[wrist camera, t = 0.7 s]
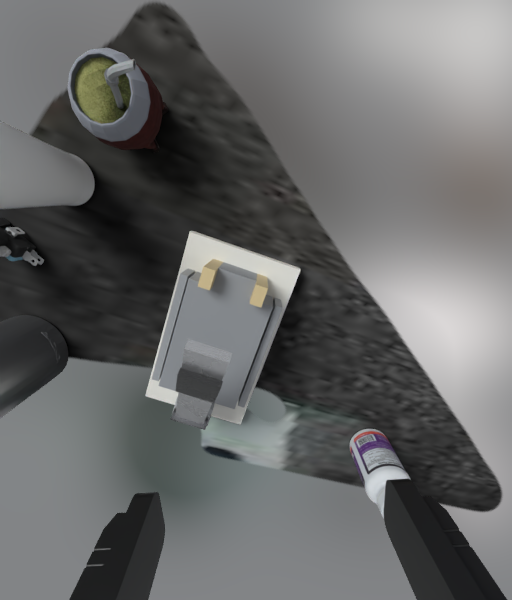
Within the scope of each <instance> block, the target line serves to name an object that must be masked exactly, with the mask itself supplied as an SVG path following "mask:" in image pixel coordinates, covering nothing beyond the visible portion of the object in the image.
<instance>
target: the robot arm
mask: <svg viewBox="0 0 512 600" xmlns="http://www.w3.org/2000/svg"><path fill="white" fill-rule="evenodd" d="M67 361H68V348H67V344H66V342H65V339H64V338H63V336H62V335H61V333H60V332H59V331H58V330H57V329H56V328H55V327H54V326H53V325H52V324H50V323H49V322H47V321H45V320H44V319H42V318H39V317H36V316H31V315H18V316H15V317H12V318H9V319H7V320H4V321H2V322H0V418H2V417H3V416H4V415H6V414H7V413H8V412H10V411H11V410H12V409H13V408H15V407H16V406H17V405H19V404H20V403H21V402H23V401H24V400H25V399H27V398H28V397H29V396H31V395H32V394H33V393H35V392H36V391H37V390H39V389H40V388H41V387H42V386H44V385H45V384H47V383H48V382H49V381H51V380H52V379H53V378H55V377H56V376H57V375H58V374H60V372H62V371H63V369H64V368H65V366H66V364H67ZM384 520H385V525H386V529H387V532H388V535H389V537H390V539H391V542H392V544H393V546H394V548H395V551H396V553H397V555H398V557H399V560H400V562H401V564H402V567H403V569H404V571H405V573H406V576H407V578H408V580H409V583H410V585H411V587H412V590H413V592H414V594H415V596H416V599H417V600H507V599H506V597H505V596H504V594H503V593H502V592H501V590H500V588H499V587H498V585H497V584H496V583H495V581H494V580H493V578H492V577H491V575H490V574H489V572H488V571H487V569H486V568H485V566H484V565H483V563H482V562H481V560H480V559H479V557H478V556H477V555H476V553H475V552H474V550H473V549H472V548H471V547H470V546H469V543H468V542H467V540H466V538H465V537H464V535H463V534H462V532H460V531H459V528H458V526H457V525H456V524H455V522H454V521H453V519H452V518H451V516H450V515H449V513H448V512H447V510H446V509H444V508H443V507H442V506H441V505H440V504H439V503H438V502H437V501H435V500H434V499H433V498H432V497H431V496H421V494H420V493H419V491H418V489H417V488H416V486H415V485H414V483H413V482H412V481H411V480H410V479H393V480H387V481H386V486H385V500H384ZM164 535H165V524H164V518H163V513H162V508H161V502H160V496H159V493H157V492H154V493H137V494H135V495H134V497H133V499H132V501H131V503H130V505H129V508H128V510H127V512H126V513H117V514H116V515H115V517H114V518H113V519H112V520H111V521H110V522H109V524H108V525H107V526H106V527H105V528H104V530H103V532H102V534H101V536H100V538H99V540H98V542H97V544H96V546H95V549H94V552H92V554H91V556H90V558H89V560H88V562H87V567H86V568H85V569H84V571H83V573H82V575H81V577H80V579H79V581H78V583H77V585H76V587H75V589H74V591H73V593H72V595H71V597H70V600H148V598H149V594H150V590H151V587H152V583H153V580H154V576H155V573H156V569H157V565H158V562H159V558H160V554H161V551H162V547H163V543H164Z"/></svg>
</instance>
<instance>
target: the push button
mask: <svg viewBox="0 0 512 600" xmlns="http://www.w3.org/2000/svg"><path fill="white" fill-rule="evenodd" d="M9 225H10V222H9V221H8V220H6V219H5V218H0V256H3V257H6V258H7V259H8V260H10V261H17V260H23V259H24V260H25V261H28V262H30V263H31V264H32V265H34V266H36V265H37V263H38V264H40V265H42V263H43V262H44V259H42V258H41V257H40V256H39V255H37V252H35V251H34V250H35V248H36V246H34V245H33V244H32V243H31V242H29V241H28V240H27V239H26V238H24V237H23V236H22V235H21V234H25V232H24V231H22V230H21V229H20V228H18V227H10V226H9ZM16 229H17V230H19V231H20V232H18V231H17V230H16ZM38 258H39V259H40V262H39V261H38ZM32 260H34V261H35V262H34V263H33V262H32Z"/></svg>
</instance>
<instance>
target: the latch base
mask: <svg viewBox="0 0 512 600" xmlns="http://www.w3.org/2000/svg"><path fill="white" fill-rule="evenodd" d="M300 271H301V270H300V268H298V267H295V266H293V265H290V264H287V263H284V262H281V261H278V260H275V259H272V258H270V257H267V256H264V255H261V254H258V253H255V252H252V251H249V250H246V249H244V248H241V247H238V246H235V245H232V244H229V243H226V242H223V241H221V240H218V239H215V238H212V237H209V236H206V235H203V234H200V233H198V232H195V231H190V233H189V236H188V240H187V244H186V248H185V251H184V255H183V259H182V262H181V266H180V270H179V273H178V277H177V281H176V284H175V288H174V292H173V296H172V299H171V303H170V307H169V310H168V314H167V318H166V321H165V325H164V329H163V333H162V336H161V340H160V344H159V347H158V351H157V355H156V358H155V362H154V366H153V369H152V373H151V377H150V381H149V384H148V388H147V392H146V395H145V396H147V397H150V398H153V399H157V400H160V401H163V402H167V403H170V404H173V405H175V406H174V408H175V407H177V399H178V392H176V383H177V374H178V372H179V370H180V368H182V361H183V354H184V348H185V345H186V343H187V341H188V339H191V340H194V341H197V342H200V343H203V344H206V345H209V346H213V347H216V348H219V349H222V350H225V351H228V352H231V353H232V356H231V359H230V363H229V365H228V367H227V370H226V372H225V374H224V377H223V379H222V381H223V383H222V386H221V389H220V391H219V394H218V396H217V398H216V400H215V403H212V405H211V407H210V409H209V412H208V414H207V417H209V418H208V422H209V420H210V417H211V416H213V417H216V418H219V419H223V420H226V421H229V422H232V423H236V424H239V425H241V422H242V419H243V417H244V414H245V412H246V409H247V407H248V404H249V401H250V399H251V396H252V394H253V391H254V389H255V386H256V383H257V381H258V378H259V376H260V373H261V371H262V368H263V366H264V363H265V360H266V358H267V355H268V353H269V350H270V348H271V345H272V342H273V340H274V337H275V335H276V332H277V330H278V327H279V324H280V322H281V319H282V317H283V314H284V312H285V309H286V306H287V304H288V301H289V299H290V296H291V294H292V291H293V289H294V286H295V283H296V281H297V278H298V276H299V273H300ZM173 411H174V409H173ZM172 413H173V412H172ZM208 422H207V425H208ZM207 425H206V426H207Z"/></svg>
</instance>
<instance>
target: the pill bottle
mask: <svg viewBox="0 0 512 600" xmlns="http://www.w3.org/2000/svg"><path fill="white" fill-rule="evenodd" d="M350 451H351V454H352V457H353V460H354V462H355V465H356V467H357V470H358V472H359V475H360V478H361V480H362V483H363V486H364V488H365V491H366V493H367V495H368V497H369V498H370V499H371V500H372V501H373V502H374V503H376V504H377V505H378V508H379V510H380V512H381V514H382V516H383V518H384V500H385V486H386V481H387V480H393V479H410V477H409V475H408V474H407V472H406V470H405V468H404V467H403V465H402V463H401V462H400V460H399V458H398V456H397V455H396V453H395V451H394V449H393V448H392V446H391V444H390V442H389V441H388V439H387V437H386V436H385V435H384V434H383V433H382V432H380V431H379V430H376V429H364V430H361V431H359V432H357V433H356V434H355V435H354V436H353V437H352V439H351V441H350ZM410 480H411V479H410Z"/></svg>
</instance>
